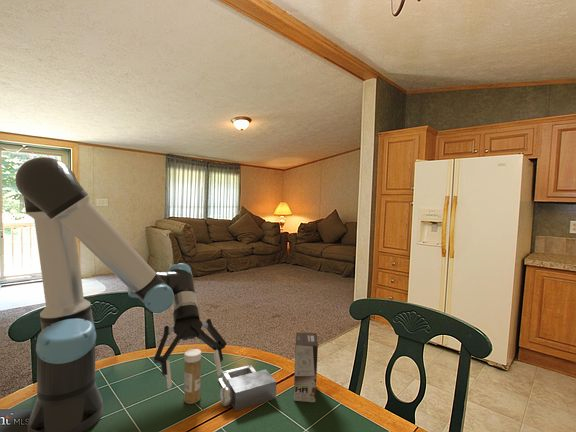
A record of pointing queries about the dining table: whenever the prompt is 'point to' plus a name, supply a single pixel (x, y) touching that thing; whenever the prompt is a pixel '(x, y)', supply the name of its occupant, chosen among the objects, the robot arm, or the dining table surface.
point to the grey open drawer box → (246, 387)
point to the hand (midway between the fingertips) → (195, 380)
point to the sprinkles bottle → (192, 376)
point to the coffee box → (305, 367)
